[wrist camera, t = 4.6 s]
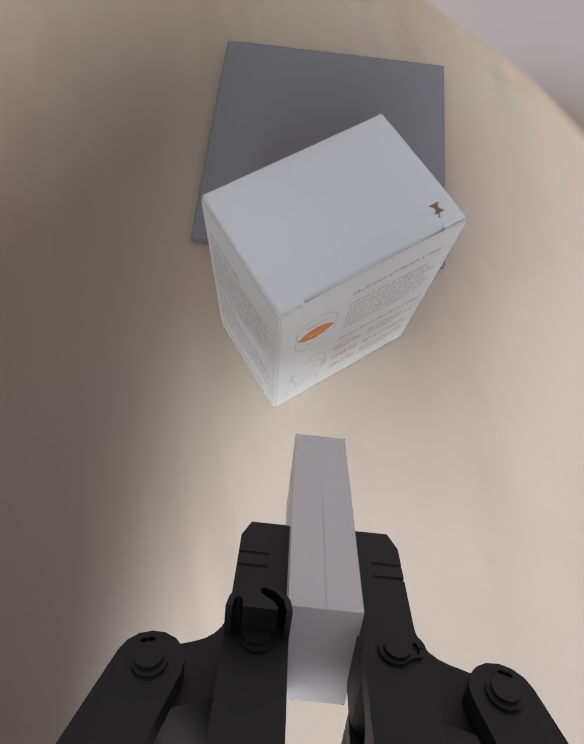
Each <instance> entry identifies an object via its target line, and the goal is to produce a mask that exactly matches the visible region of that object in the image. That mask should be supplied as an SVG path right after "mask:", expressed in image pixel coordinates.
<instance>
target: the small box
mask: <svg viewBox="0 0 584 744" xmlns="http://www.w3.org/2000/svg"><path fill="white" fill-rule="evenodd" d="M201 200H202V208H203V214H204V219H205V226H206V231H207V237H208V243H209V249H210V255H211V262H212V269H213V274H214V279H215V286H216V291H217V298H218V304H219V310H220V315H221V321H222V324H223V326H224V328H225V329H226V331H227V333H228V334H229V336H230V338H231V340H232V341H233V343H234V344H235V346H236V348H237V349H238V351H239V353H240V354H241V356H242V358H243V359H244V361H245V362H246V364H247V366H248V367H249V369H250V371H251V372H252V374H253V375H254V377H255V379H256V380H257V382H258V384H259V385H260V387H261V388H262V390H263V392H264V393H265V395H266V396H267V398H268V399H269V401H270V403H271V404H272V406H273V407H277V406H279V405H280V404H282V403H284V402H285V401H287V400H289V399H291V398H292V397H294V396H296V395H297V394H299V393H301V392H303V391H304V390H306V389H308V388H310V387H311V386H313V385H315V384H317V383H318V382H320V381H322V380H324V379H326V378H327V377H329V376H331V375H332V374H334V373H336V372H338V371H339V370H341V369H343V368H345V367H347V366H348V365H350V364H352V363H354V362H355V361H357V360H359V359H361V358H362V357H364V356H366V355H367V354H369V353H371V352H373V351H374V350H376V349H378V348H380V347H381V346H383V345H385V344H387V343H388V342H390V341H392V340H394V339H396V338H398V337H400V336H401V334H402V333H403V331H404V329H405V328H406V326H407V324H408V323H409V321H410V319H411V318H412V316H413V314H414V312H415V311H416V309H417V307H418V306H419V304H420V302H421V300H422V299H423V297H424V295H425V294H426V292H427V290H428V288H429V287H430V285H431V283H432V281H433V279H434V278H435V276H436V274H437V273H438V271H439V269H440V267H441V265H442V264H443V262H444V260H445V258H446V257H447V255H448V253H449V251H450V250H451V248H452V246H453V245H454V243H455V241H456V239H457V238H458V236H459V234H460V232H461V231H462V229H463V227H464V226H465V224H466V223H467V221H468V219H467V216H466V215H465V214H464V213H463V211H462V210H461V209H460V208H459V206H458V205H457V204H456V203H455V202H454V200H453V199H452V198H451V196H450V195H449V194H448V193H447V192H446V190H445V189H444V188H443V187H442V186H441V184H440V183H439V182H438V181H437V179H436V178H435V177H434V176H433V175H432V173H431V172H430V171H429V170H428V169H427V167H426V166H425V165H424V164H423V163H422V161H421V160H420V159H419V158H418V157H417V155H416V154H415V153H414V152H413V151H412V149H411V148H410V147H409V146H408V144H407V143H406V142H405V141H404V140H403V138H402V137H401V136H400V135H399V134H398V132H397V131H396V130H395V129H394V128H393V126H392V125H391V124H390V123H389V122H388V121H387V120H386V118H385V117H384V116H383V115H382V114H378V115H376V116H374V117H372V118H370V119H368V120H366V121H364V122H361V123H359V124H357V125H355V126H353V127H350V128H348V129H346V130H344V131H341V132H339V133H337V134H335V135H333V136H331V137H329V138H326V139H324V140H322V141H320V142H318V143H316V144H313V145H311V146H309V147H307V148H305V149H303V150H300V151H298V152H296V153H294V154H291V155H289V156H287V157H285V158H283V159H281V160H278V161H276V162H274V163H272V164H270V165H267V166H265V167H263V168H261V169H259V170H256V171H254V172H252V173H250V174H247V175H245V176H243V177H241V178H239V179H237V180H234V181H232V182H230V183H228V184H226V185H223V186H221V187H219V188H217V189H214V190H212V191H210V192H207V193H205V194H203V195H202V198H201Z"/></svg>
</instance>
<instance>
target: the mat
mask: <svg viewBox="0 0 584 744" xmlns="http://www.w3.org/2000/svg"><path fill="white" fill-rule="evenodd" d="M378 114H382V115H383V116H384V117H385V118H386V120H387V121H388V122H389V123H390V124H391V125H392V126H393V128H394V129H395V130H396V131H397V132H398V134H399V135H400V136H401V137H402V138H403V140H404V141H405V142H406V143H407V144H408V146H409V147H410V148H411V149H412V151H413V152H414V153H415V154H416V155H417V157H418V158H419V159H420V160H421V161H422V163H423V164H424V165H425V166H426V167H427V169H428V170H429V171H430V172H431V173H432V175H433V176H434V177H435V178H436V179H437V181H438V182H439V183H440V184H441V186H442V187H443V188H444V66H438V65H429V64H421V63H412V62H404V61H395V60H387V59H378V58H370V57H361V56H353V55H345V54H336V53H328V52H319V51H311V50H302V49H294V48H285V47H277V46H268V45H260V44H251V43H243V42H234V41H228V46H227V51H226V56H225V61H224V67H223V72H222V77H221V83H220V88H219V93H218V98H217V104H216V109H215V114H214V120H213V125H212V130H211V135H210V141H209V146H208V151H207V157H206V162H205V167H204V172H203V178H202V183H201V188H200V194H199V199H198V204H197V209H196V215H195V220H194V225H193V231H192V236H191V238H192V241H196V242H205V243H208V237H207V231H206V226H205V219H204V214H203V208H202V200H201V198H202V195H203V194H205V193H207V192H210V191H212V190H214V189H217V188H219V187H221V186H223V185H226V184H228V183H230V182H232V181H234V180H237V179H239V178H241V177H243V176H245V175H247V174H250V173H252V172H254V171H256V170H259V169H261V168H263V167H265V166H267V165H270V164H272V163H274V162H276V161H278V160H281V159H283V158H285V157H287V156H289V155H291V154H294V153H296V152H298V151H300V150H303V149H305V148H307V147H309V146H311V145H313V144H316V143H318V142H320V141H322V140H324V139H326V138H329V137H331V136H333V135H335V134H337V133H339V132H341V131H344V130H346V129H348V128H350V127H353V126H355V125H357V124H359V123H361V122H364V121H366V120H368V119H370V118H372V117H374V116H376V115H378ZM444 266H445V260H444V262H443V264H442V265H441V267H440V269H443V268H444Z"/></svg>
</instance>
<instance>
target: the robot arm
mask: <svg viewBox="0 0 584 744" xmlns="http://www.w3.org/2000/svg"><path fill="white" fill-rule="evenodd" d="M403 579H404V578H403V573H402V569H401V564H400V559H399V554H398V550H397V548H396V547H395V545H394V544H393V543H392V541H391V540H390V538H389V537H388V536H387V535H386V534H377V533H367V532H357V531H355V527H354V518H353V509H352V500H351V491H350V483H349V474H348V465H347V456H346V447H345V439H338V438H329V437H319V436H310V435H301V434H296V437H295V445H294V452H293V460H292V468H291V476H290V484H289V492H288V500H287V509H286V525H278V524H269V523H259V522H251V524H250V525H249V526H248V527H247V529H246V530H245V531H244V532H243V534H242V536H241V542H240V548H239V554H238V560H237V566H236V572H235V579H234V585H233V591H232V593H231V594H230V596H229V598H228V601H227V603H226V609H225V622H224V624H223V626H222V627H221V628H220V629H219V630H218V631H216V632H215V633H214V634H212V635H210V636H208V637H207V638H204V639H200V640H197V641H193V642H188V643H183V644H180V643H179V642H178V640H177V639H176V638H175V637H173V636H171V635H169V634H167V633H166V632H159V631H149V632H143V633H139V634H137V635H135V636H133V637H132V638H130V639H128V640H127V641H126V642H125V643H124V644H123V645H122V646H121V647H120V648H119V649H118V650H117V652H116V653H115V655H114V656H113V658H112V659H111V661H110V662H109V664H108V666H107V667H106V669H105V670H104V672H103V673H102V675H101V676H100V678H99V679H98V681H97V682H96V684H95V685H94V687H93V688H92V690H91V691H90V693H89V694H88V696H87V697H86V699H85V700H84V702H83V703H82V705H81V706H80V708H79V709H78V711H77V712H76V714H75V715H74V717H73V718H72V720H71V721H70V723H69V724H68V726H67V727H66V729H65V730H64V732H63V734H62V735H61V737H60V738H59V740H58V741H57V743H56V744H285V726H286V699H291V700H301V701H311V702H322V703H332V704H342V705H344V703H345V698H346V694H347V695H348V710H349V712H348V717H347V721H346V725H345V730H344V734H343V739H342V743H341V744H568V742H567V741H566V739H565V737H564V736H563V734H562V733H561V731H560V730H559V728H558V726H557V725H556V723H555V722H554V720H553V719H552V717H551V715H550V714H549V712H548V711H547V709H546V708H545V706H544V704H543V703H542V701H541V700H540V698H539V697H538V695H537V694H536V692H535V690H534V689H533V688H532V687H531V685H530V684H529V683H528V682H527V681H526V680H525V678H524V677H522V676H521V675H519V674H518V673H517V672H515V671H514V670H512V669H510V668H508V667H505V666H503V665H500V664H492V663H485V664H482V665H480V666H477V667H476V668H475V669H474V670H473V671H472V673H468V672H466V671H463V670H460V669H458V668H455V667H453V666H450V665H448V664H446V663H444V662H442V661H440V660H438V659H437V658H435V657H434V656H433V655H431V654H430V653H429V652H428V651H427V650H426V648H425V645H424V644H423V642H422V641H421V640H420V639H419V638H418V637H417V636H416V633H415V630H414V626H413V621H412V617H411V612H410V607H409V602H408V597H407V593H406V588H405V583H404V582H403Z"/></svg>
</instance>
